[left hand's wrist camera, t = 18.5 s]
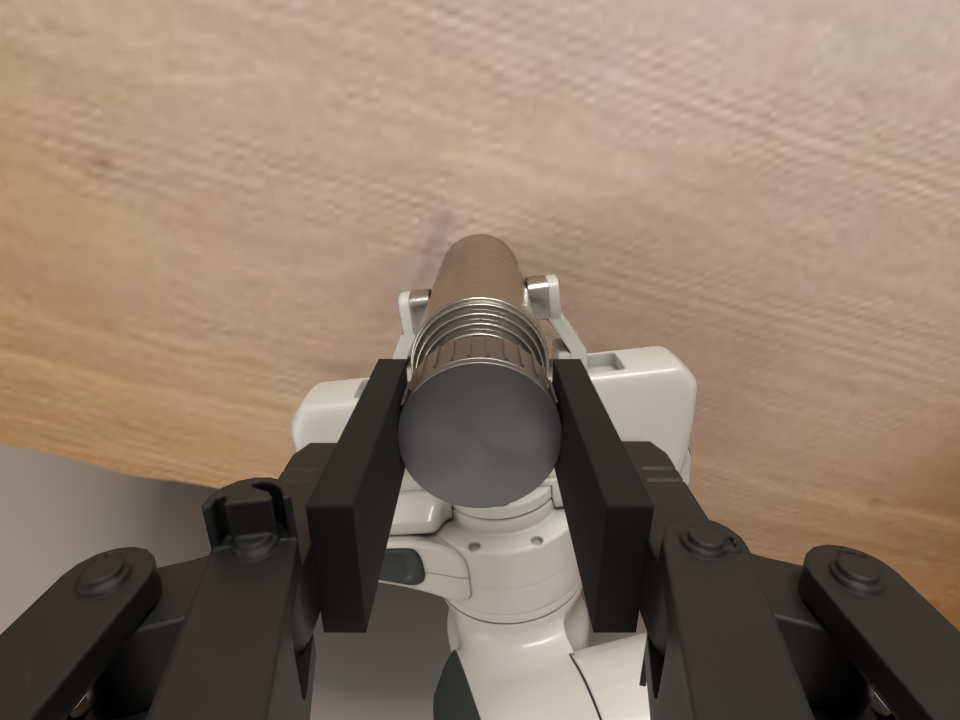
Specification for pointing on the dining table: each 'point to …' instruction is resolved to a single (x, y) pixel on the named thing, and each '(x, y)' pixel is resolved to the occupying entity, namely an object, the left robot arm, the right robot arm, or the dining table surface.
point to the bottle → (479, 301)
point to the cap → (479, 423)
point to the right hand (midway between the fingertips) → (476, 285)
